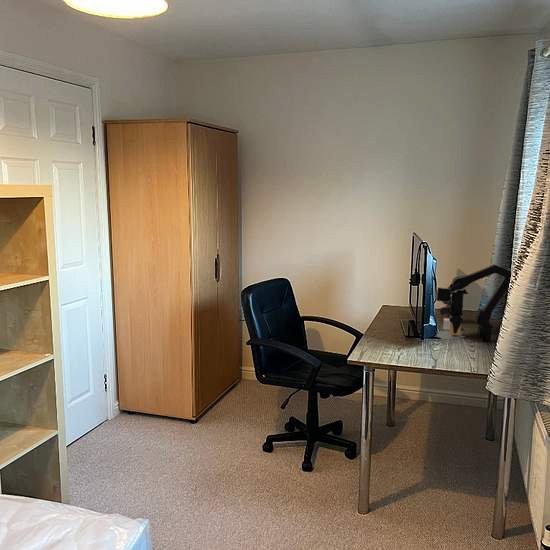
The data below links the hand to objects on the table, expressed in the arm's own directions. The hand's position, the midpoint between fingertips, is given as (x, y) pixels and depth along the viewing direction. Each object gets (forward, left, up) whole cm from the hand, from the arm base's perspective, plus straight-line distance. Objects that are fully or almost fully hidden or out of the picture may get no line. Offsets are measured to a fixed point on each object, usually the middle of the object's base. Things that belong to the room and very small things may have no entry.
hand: (455, 331), depth 286 cm
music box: (+32, -24, -3) cm, 40 cm away
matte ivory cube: (+14, -8, -3) cm, 16 cm away
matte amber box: (0, 0, -1) cm, 1 cm away
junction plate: (+3, +3, -3) cm, 5 cm away
